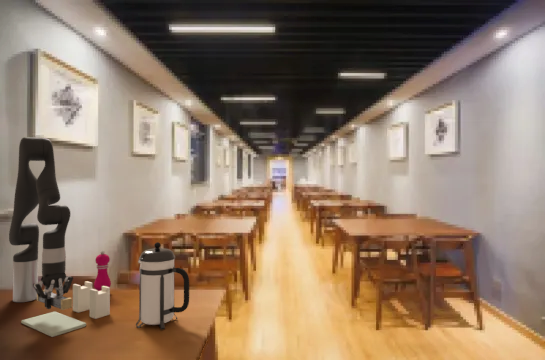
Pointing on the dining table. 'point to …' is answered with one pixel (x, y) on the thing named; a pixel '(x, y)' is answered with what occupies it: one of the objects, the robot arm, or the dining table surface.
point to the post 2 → (99, 302)
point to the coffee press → (159, 287)
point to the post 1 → (81, 297)
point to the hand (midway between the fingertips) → (53, 307)
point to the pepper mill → (102, 272)
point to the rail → (58, 301)
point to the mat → (53, 323)
